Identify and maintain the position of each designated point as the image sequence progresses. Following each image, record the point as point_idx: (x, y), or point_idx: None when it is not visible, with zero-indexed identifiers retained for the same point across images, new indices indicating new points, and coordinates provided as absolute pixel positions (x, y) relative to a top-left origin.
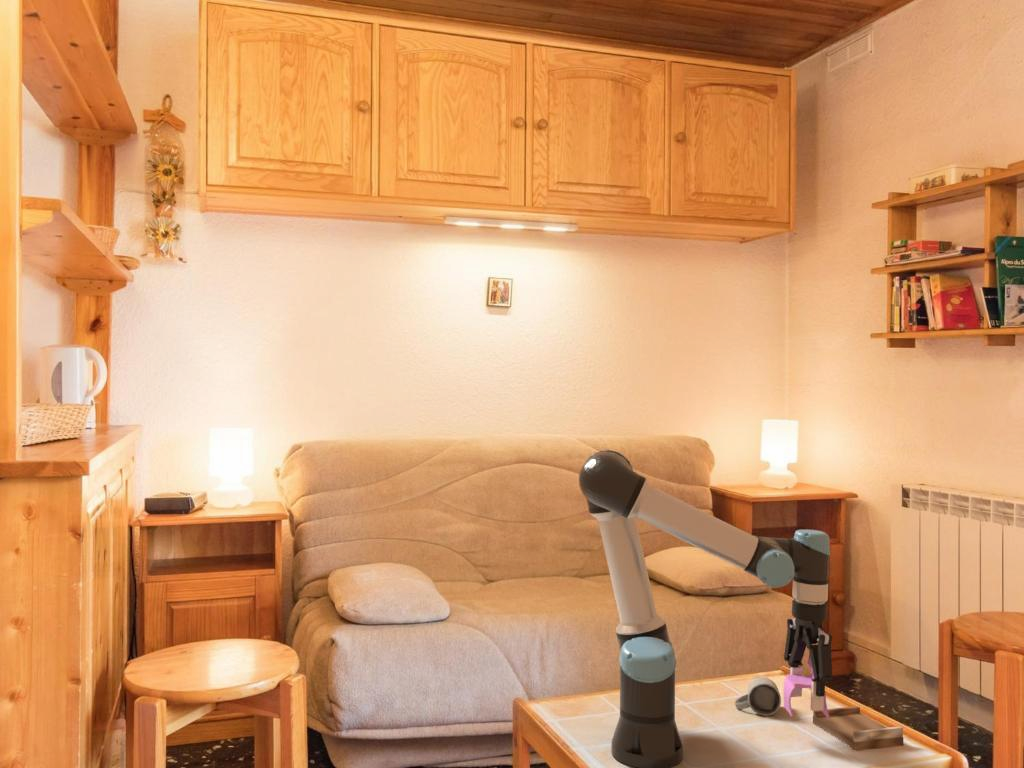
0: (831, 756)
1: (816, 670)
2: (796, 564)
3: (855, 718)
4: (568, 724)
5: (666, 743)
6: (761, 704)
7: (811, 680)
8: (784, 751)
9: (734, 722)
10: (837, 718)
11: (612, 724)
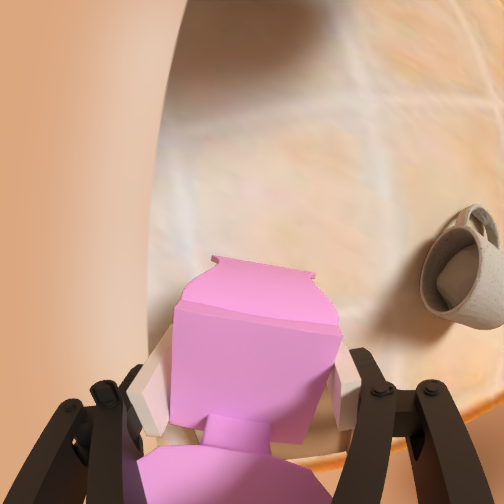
0: (162, 307)
1: (93, 432)
2: None
3: (320, 436)
4: None
5: None
6: (451, 262)
7: (239, 411)
8: (197, 204)
9: (399, 156)
10: (330, 408)
11: None
